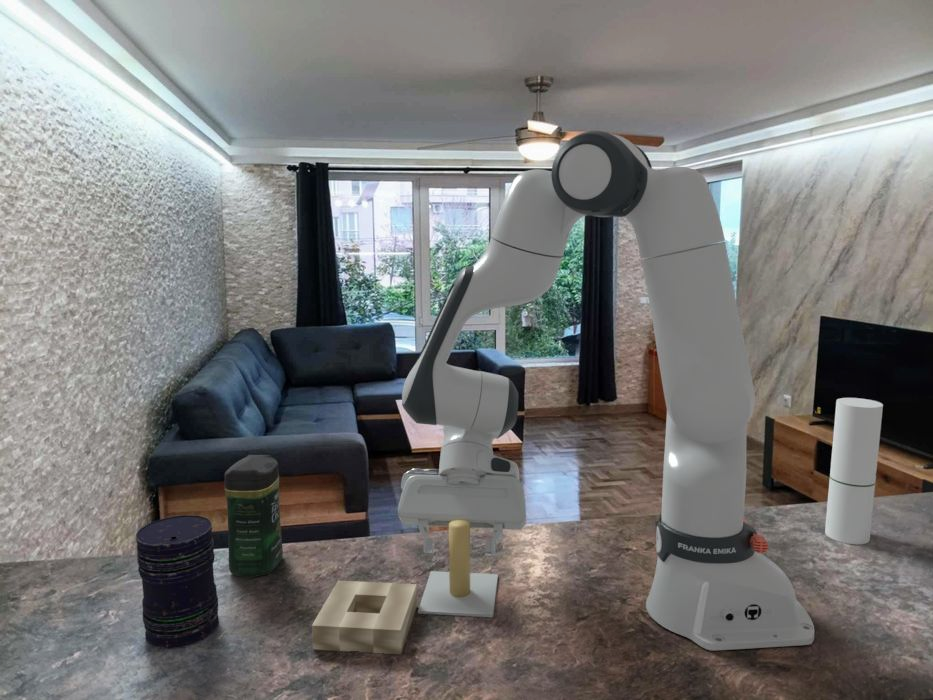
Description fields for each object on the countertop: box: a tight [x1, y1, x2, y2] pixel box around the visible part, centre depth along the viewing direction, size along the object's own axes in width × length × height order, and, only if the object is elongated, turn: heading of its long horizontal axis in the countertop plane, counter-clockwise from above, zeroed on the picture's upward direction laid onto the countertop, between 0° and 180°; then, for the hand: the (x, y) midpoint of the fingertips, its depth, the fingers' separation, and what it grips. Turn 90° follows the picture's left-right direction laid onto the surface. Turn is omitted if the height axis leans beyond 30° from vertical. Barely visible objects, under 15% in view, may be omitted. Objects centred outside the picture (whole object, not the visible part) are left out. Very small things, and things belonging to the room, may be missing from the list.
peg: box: [448, 520, 471, 597], centre depth 104 cm, size 3×3×11 cm
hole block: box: [311, 580, 418, 655], centre depth 97 cm, size 12×12×4 cm
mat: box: [417, 570, 499, 618], centre depth 105 cm, size 11×12×1 cm
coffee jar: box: [223, 454, 284, 578], centre depth 113 cm, size 10×8×19 cm
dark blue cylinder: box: [135, 514, 220, 650], centre depth 95 cm, size 10×10×15 cm
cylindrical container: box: [824, 397, 884, 546], centre depth 123 cm, size 7×7×25 cm
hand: (458, 553), depth 104 cm, fingers open, 8 cm apart
